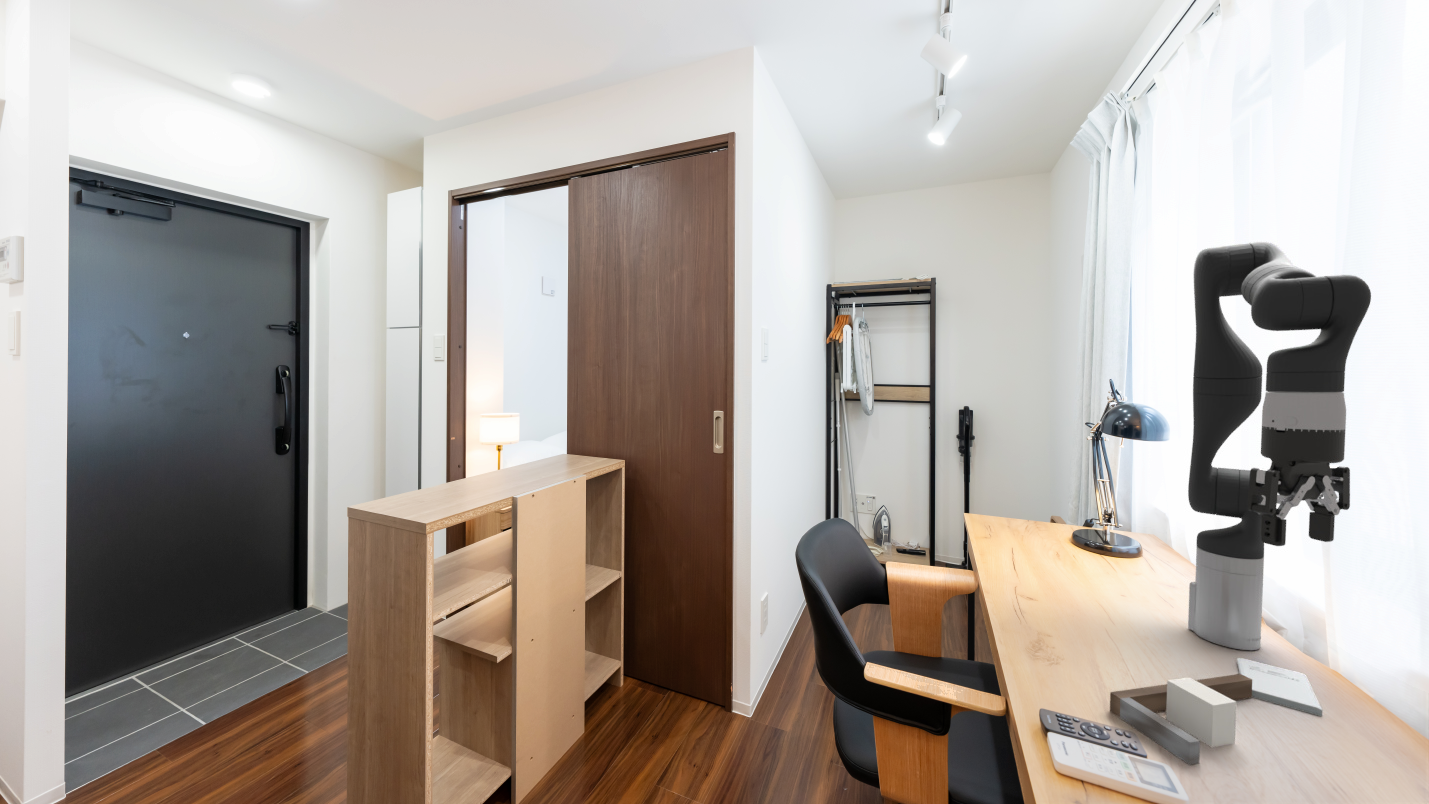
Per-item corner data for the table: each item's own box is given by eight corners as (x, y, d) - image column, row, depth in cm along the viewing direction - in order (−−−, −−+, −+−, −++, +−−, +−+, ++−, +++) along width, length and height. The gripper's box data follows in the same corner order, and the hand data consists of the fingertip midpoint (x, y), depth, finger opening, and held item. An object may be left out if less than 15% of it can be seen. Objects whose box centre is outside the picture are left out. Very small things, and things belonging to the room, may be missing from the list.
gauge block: (1166, 719, 77) (1167, 680, 76) (1187, 716, 77) (1189, 677, 77) (1211, 747, 71) (1213, 705, 70) (1234, 743, 71) (1236, 701, 71)
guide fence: (1109, 711, 78) (1110, 692, 78) (1239, 691, 83) (1240, 673, 83) (1189, 764, 67) (1190, 742, 67) (1333, 738, 72) (1334, 718, 72)
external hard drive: (1244, 697, 82) (1236, 664, 92) (1322, 719, 77) (1306, 682, 86) (1244, 687, 82) (1237, 656, 92) (1322, 709, 77) (1306, 673, 86)
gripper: (1305, 421, 75) (1301, 531, 76) (1228, 424, 72) (1224, 537, 73) (1381, 426, 68) (1375, 547, 68) (1297, 428, 65) (1292, 555, 66)
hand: (1297, 542), depth 71 cm, fingers open, 8 cm apart
